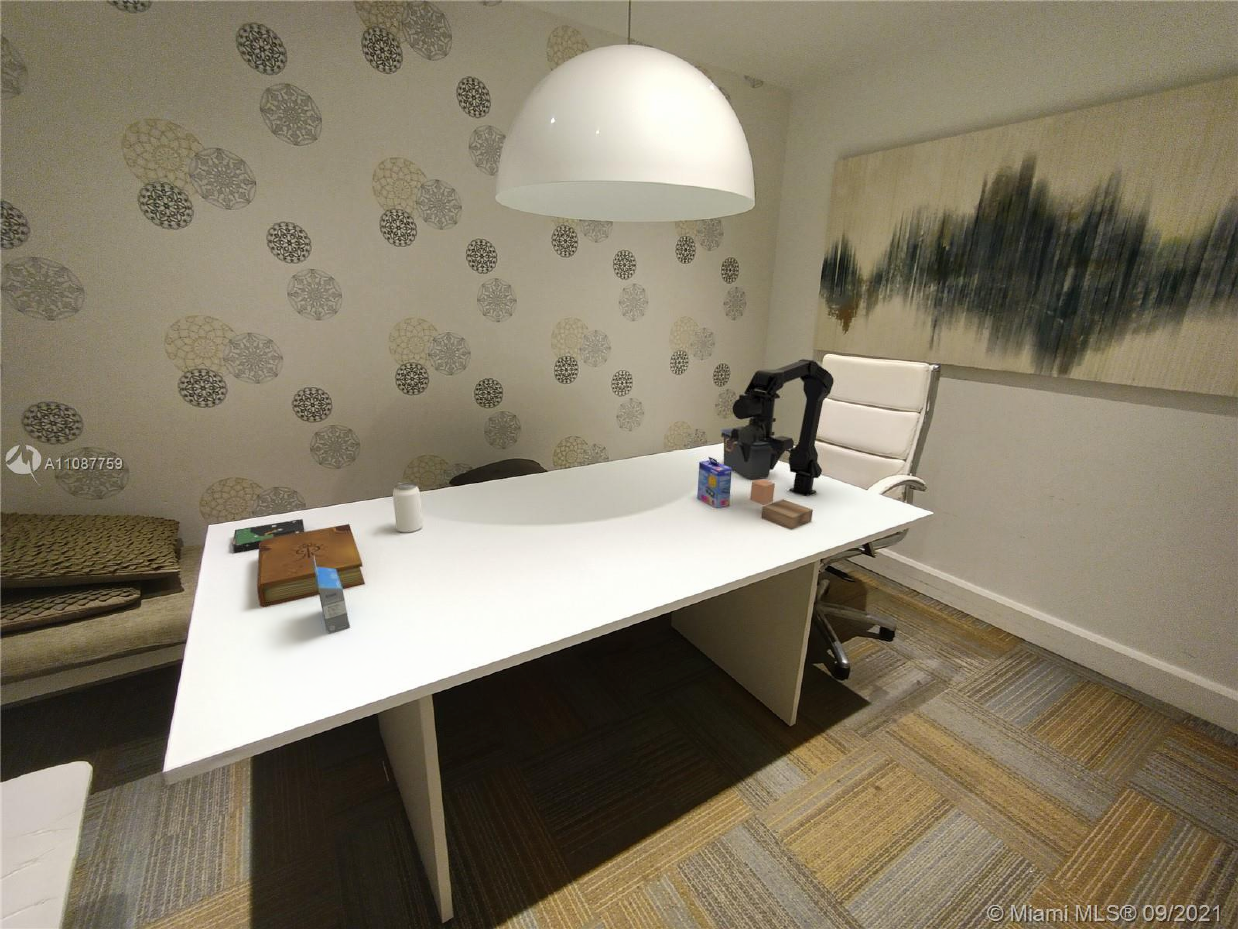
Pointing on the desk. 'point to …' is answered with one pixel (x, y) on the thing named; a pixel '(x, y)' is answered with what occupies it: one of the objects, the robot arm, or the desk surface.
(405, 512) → the can
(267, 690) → the desk surface
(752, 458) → the storage bin
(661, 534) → the desk surface
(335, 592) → the label tape box
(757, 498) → the terracotta box
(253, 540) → the disk drive
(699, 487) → the ink cartridge box
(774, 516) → the walnut block
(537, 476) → the desk surface
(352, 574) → the diary
